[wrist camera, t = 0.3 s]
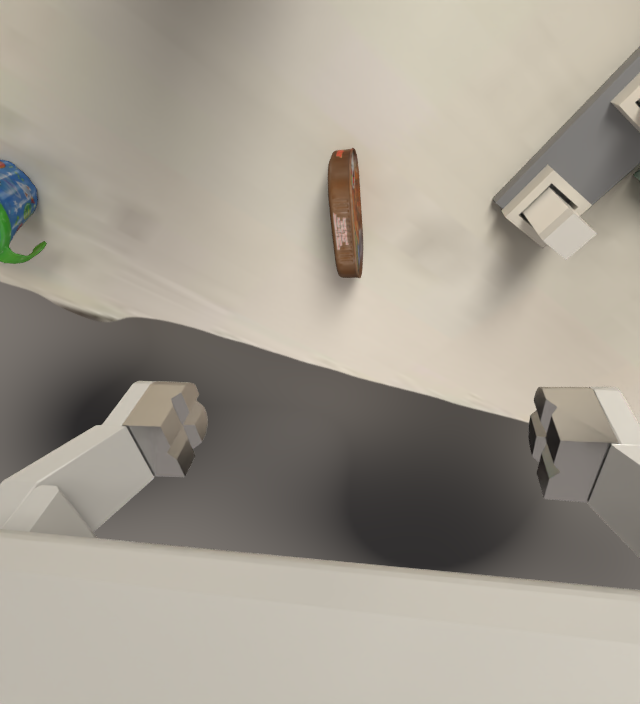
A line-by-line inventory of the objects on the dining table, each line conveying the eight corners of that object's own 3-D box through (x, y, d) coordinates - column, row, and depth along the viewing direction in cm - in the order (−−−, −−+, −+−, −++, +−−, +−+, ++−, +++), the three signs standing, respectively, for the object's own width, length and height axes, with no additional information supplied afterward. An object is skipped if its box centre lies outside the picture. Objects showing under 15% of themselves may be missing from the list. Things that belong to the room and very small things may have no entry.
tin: (364, 258, 60) (364, 290, 53) (341, 260, 60) (337, 292, 54) (356, 138, 51) (355, 160, 44) (329, 141, 51) (324, 163, 44)
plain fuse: (519, 208, 52) (542, 240, 45) (545, 182, 50) (573, 213, 43) (539, 225, 53) (565, 260, 46) (566, 201, 51) (597, 234, 44)
